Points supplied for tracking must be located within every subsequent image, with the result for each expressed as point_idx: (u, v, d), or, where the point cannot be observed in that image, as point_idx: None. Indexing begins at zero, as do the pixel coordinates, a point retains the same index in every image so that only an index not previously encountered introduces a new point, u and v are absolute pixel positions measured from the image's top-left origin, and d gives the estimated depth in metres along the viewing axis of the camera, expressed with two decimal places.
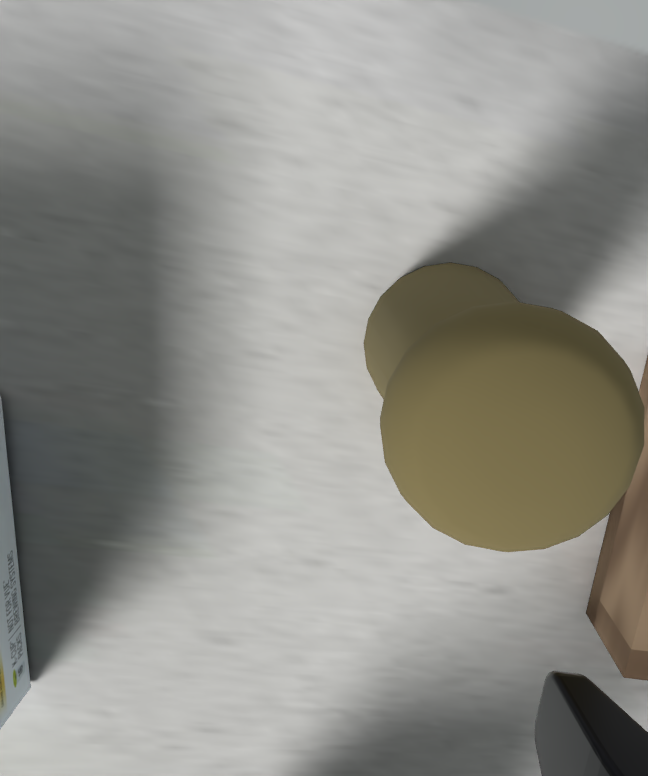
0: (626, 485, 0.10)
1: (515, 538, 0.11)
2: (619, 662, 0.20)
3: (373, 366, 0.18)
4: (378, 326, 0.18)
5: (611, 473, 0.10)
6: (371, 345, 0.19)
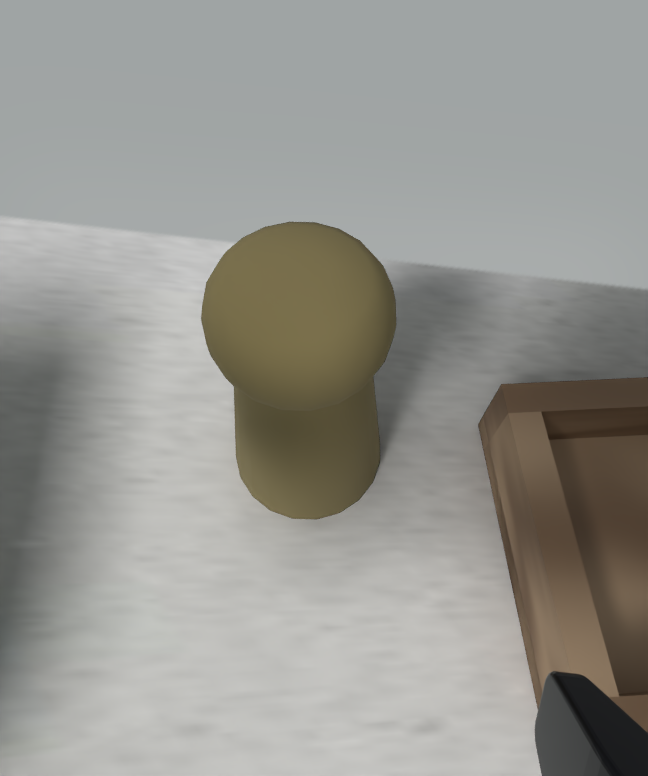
0: (381, 295, 0.14)
1: (305, 336, 0.13)
2: None
3: (237, 440, 0.21)
4: None
5: (363, 281, 0.13)
6: None
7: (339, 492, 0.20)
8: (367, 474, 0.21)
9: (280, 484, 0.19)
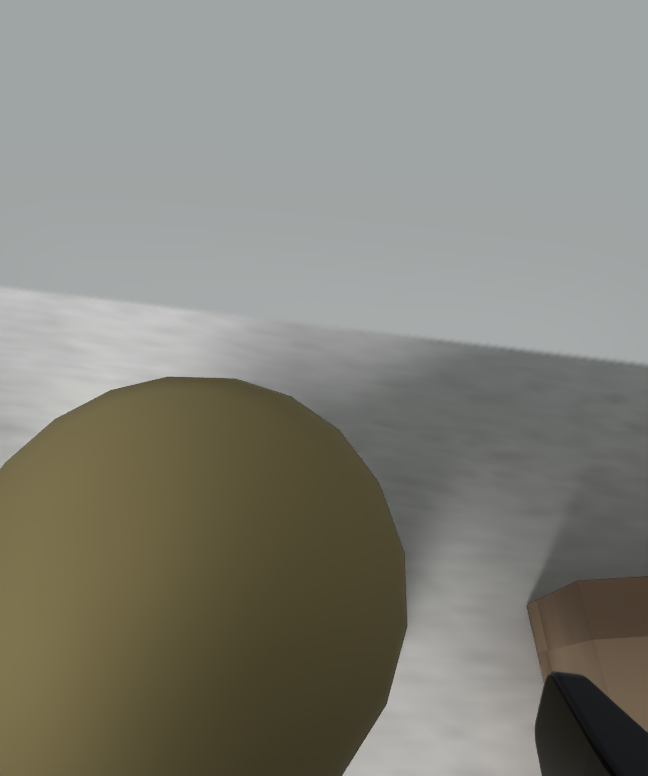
0: (371, 599, 0.05)
1: (156, 770, 0.04)
2: None
3: None
4: None
5: (324, 565, 0.05)
6: None
7: None
8: None
9: None
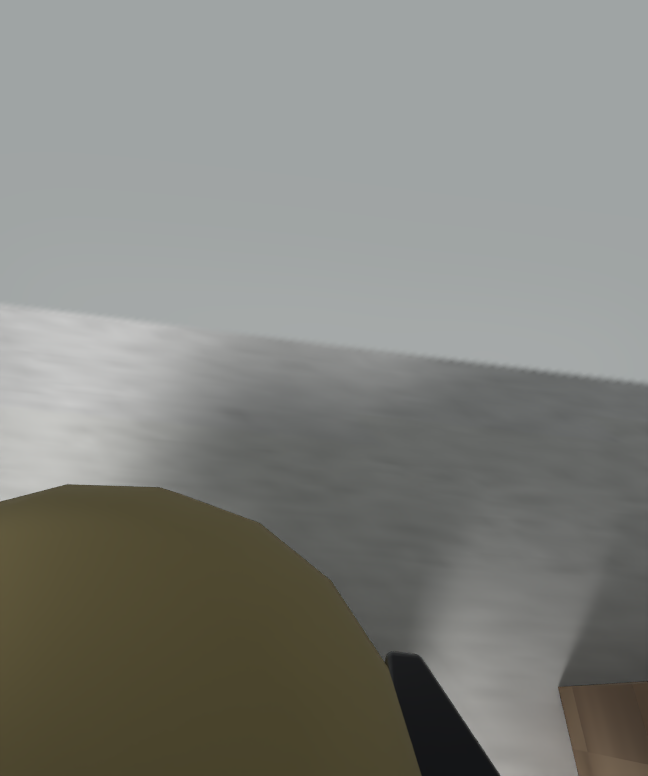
0: None
1: None
2: None
3: None
4: None
5: None
6: None
7: None
8: None
9: None
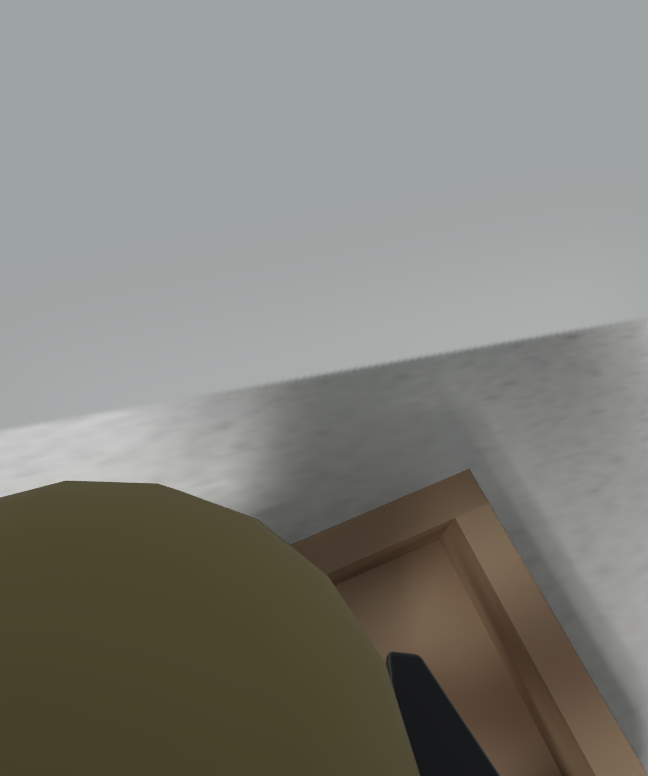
0: None
1: None
2: None
3: None
4: None
5: None
6: None
7: None
8: None
9: None
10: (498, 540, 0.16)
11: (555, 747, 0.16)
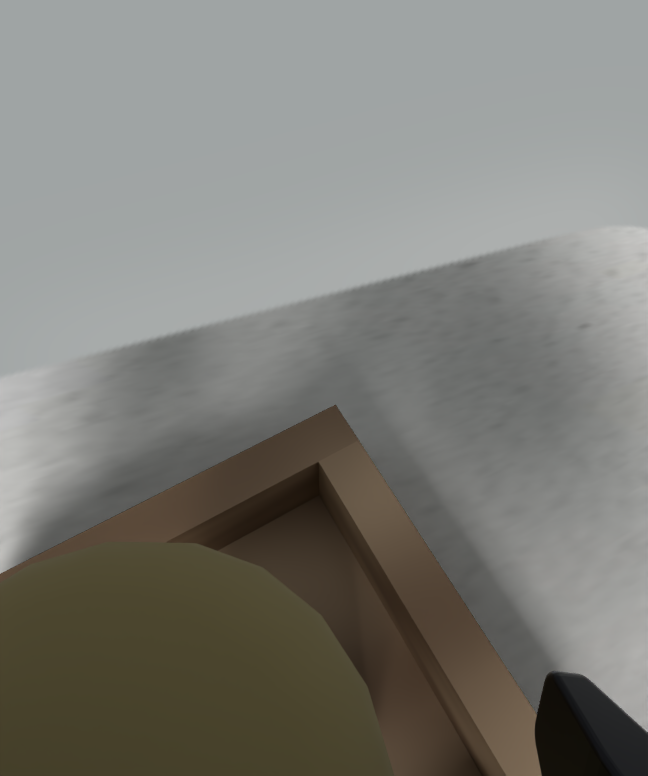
0: None
1: None
2: None
3: None
4: None
5: None
6: None
7: None
8: None
9: None
10: (370, 481, 0.14)
11: (455, 721, 0.13)
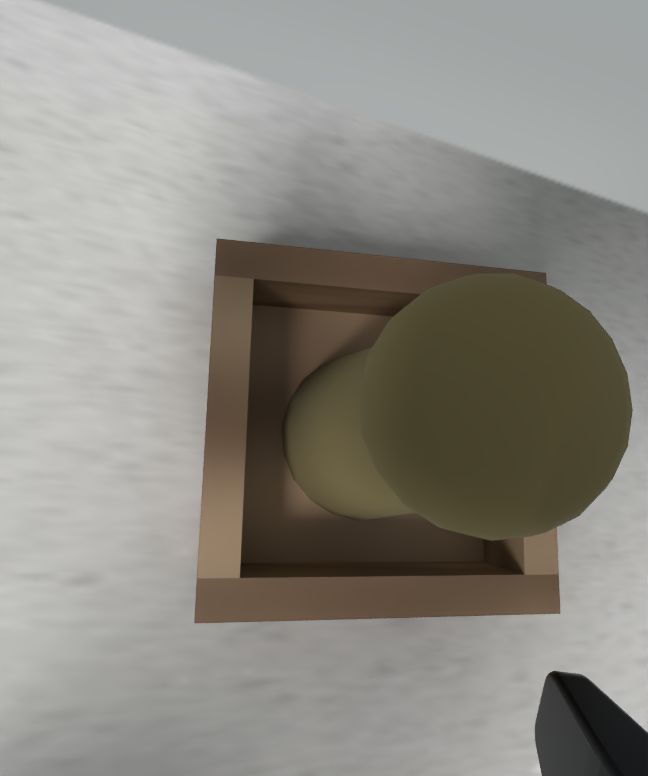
0: (611, 474, 0.10)
1: (501, 489, 0.09)
2: None
3: (304, 406, 0.17)
4: (323, 371, 0.18)
5: (606, 447, 0.10)
6: (306, 390, 0.18)
7: (374, 517, 0.18)
8: None
9: (324, 486, 0.17)
10: None
11: None
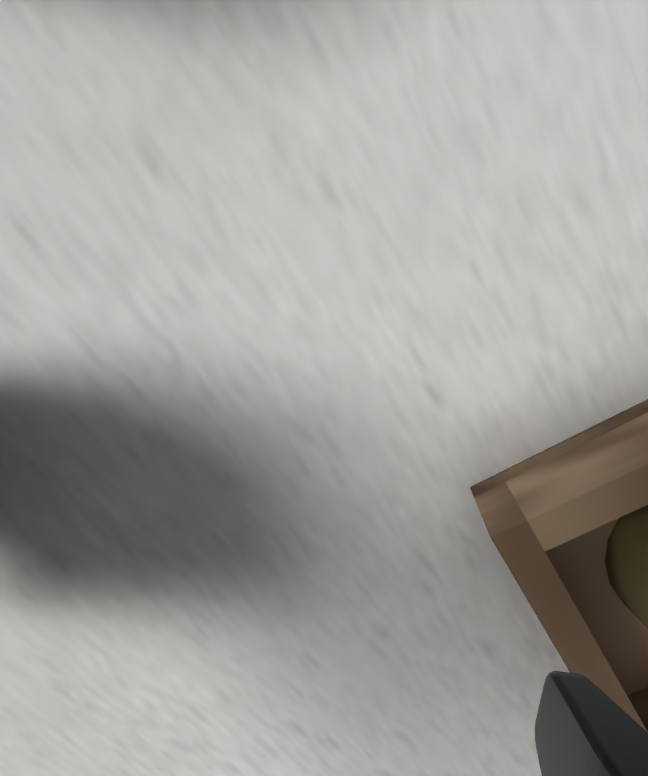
0: None
1: None
2: (494, 526, 0.17)
3: None
4: None
5: None
6: None
7: (640, 615, 0.18)
8: None
9: None
10: None
11: None
